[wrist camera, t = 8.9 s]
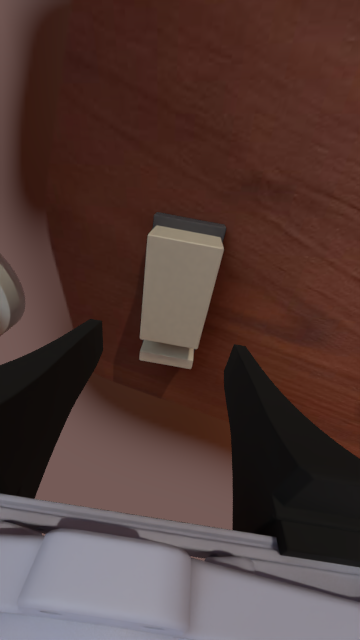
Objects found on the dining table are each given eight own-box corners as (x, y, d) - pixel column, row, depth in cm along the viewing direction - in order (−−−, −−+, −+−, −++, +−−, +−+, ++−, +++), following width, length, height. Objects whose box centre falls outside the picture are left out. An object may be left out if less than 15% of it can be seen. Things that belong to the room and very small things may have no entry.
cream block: (194, 345, 22) (193, 376, 18) (145, 336, 22) (134, 365, 18) (224, 224, 16) (230, 238, 12) (157, 212, 16) (144, 222, 12)
